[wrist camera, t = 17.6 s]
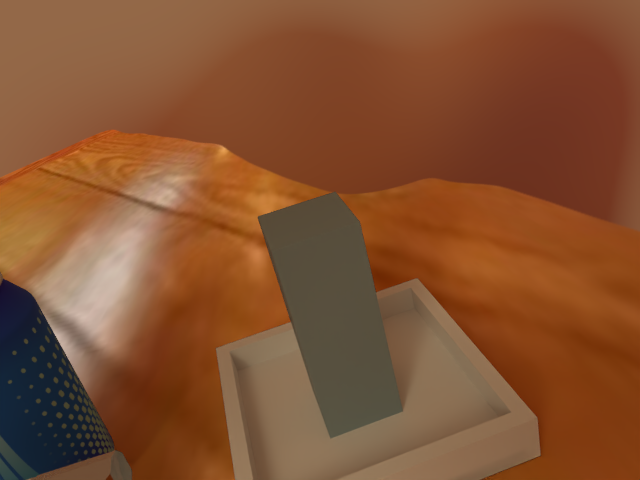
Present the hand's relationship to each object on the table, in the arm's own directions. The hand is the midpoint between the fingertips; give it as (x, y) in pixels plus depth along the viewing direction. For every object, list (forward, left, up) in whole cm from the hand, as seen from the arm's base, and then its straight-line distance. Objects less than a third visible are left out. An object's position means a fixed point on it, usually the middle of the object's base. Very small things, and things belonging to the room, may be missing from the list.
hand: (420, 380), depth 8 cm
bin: (+2, +24, -23) cm, 33 cm away
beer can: (-19, +27, -23) cm, 40 cm away
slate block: (+2, +24, -22) cm, 33 cm away
